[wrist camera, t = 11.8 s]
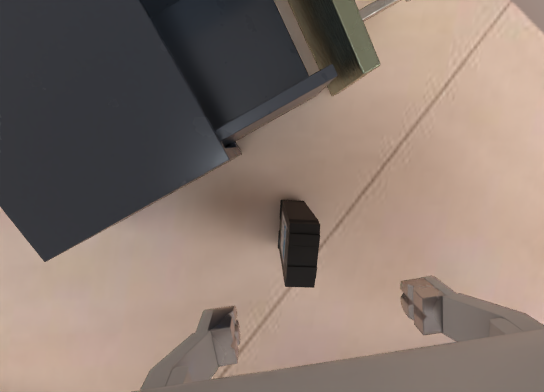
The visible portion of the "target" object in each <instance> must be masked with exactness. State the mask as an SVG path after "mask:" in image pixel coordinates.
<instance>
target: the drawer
mask: <svg viewBox="0 0 544 392" xmlns="http://www.w3.org/2000/svg"><path fill="white" fill-rule="evenodd" d="M141 1H142V2H143V4H144V6H145V8H146V9H147V11H148V13H149V15H150V16H151V18H152V20H153V22H154V23H155V25H156V27H157V29H158V30H159V32H160V34H161V36H162V38H163V39H164V41H165V43H166V45H167V46H168V48H169V50H170V52H171V53H172V55H173V57H174V59H175V60H176V62H177V64H178V66H179V67H180V69H181V71H182V73H183V74H184V76H185V78H186V80H187V81H188V83H189V85H190V87H191V89H192V90H193V92H194V94H195V96H196V97H197V99H198V101H199V103H200V104H201V106H202V108H203V110H204V111H205V113H206V115H207V117H208V118H209V120H210V122H211V124H212V125H213V127H214V129H215V131H216V132H217V134H218V136H219V138H220V140H221V141H222V143H223V145H224V147H225V146H227V145H229V144H231V143H233V142H234V141H236V140H238V139H240V138H242V137H243V136H245V135H247V134H249V133H251V132H252V131H254V130H256V129H258V128H260V127H261V126H263V125H265V124H267V123H269V122H270V121H272V120H274V119H276V118H278V117H279V116H281V115H283V114H285V113H287V112H288V111H290V110H292V109H294V108H295V107H297V106H299V105H301V104H303V103H304V102H306V101H308V100H310V99H312V98H313V97H315V96H316V95H317V94H318V93H320V92H321V91H322V90H323V89H324V88H325V87H326V86H327V87H328V89H329V91H330V93H331V96H334V95H336V94H338V93H340V92H341V91H343V90H345V89H346V88H348V87H349V86H351V85H352V84H354V83H355V82H357V81H358V80H359V79H361V78H362V77H364V76H365V75H367V74H368V73H370V72H371V71H373V70H374V69H376V68H377V67H379V66H380V62H379V59H378V57H377V54H376V52H375V49H374V47H373V44H372V42H371V40H370V37H369V35H368V32H367V30H366V27H365V25H364V21H366V20H368V19H369V18H371V17H373V16H375V15H376V14H378V13H380V12H382V11H383V10H385V9H387V8H389V7H390V6H392V5H394V4H396V3H397V2H399V1H401V0H376V1H375V2H373V3H371V4H369V5H368V6H366V7H364V8H363V9H361V10H358V8H357V5H356V3H355V0H288V2H289V4H290V6H291V8H292V11H293V13H294V15H295V17H296V19H297V22H298V24H299V26H300V28H301V30H302V32H303V35H304V37H305V39H306V41H307V43H308V46H309V48H310V50H311V52H312V54H313V56H314V59H315V61H316V63H317V65H318V67H319V69H320V71H318V72H316V73H314V74H313V75H311V76H309V75H308V73H307V71H306V69H305V67H304V65H303V62H302V60H301V58H300V56H299V54H298V52H297V50H296V48H295V45H294V43H293V41H292V39H291V37H290V35H289V33H288V31H287V28H286V26H285V24H284V22H283V20H282V18H281V16H280V13H279V11H278V9H277V7H276V5H275V3H274V1H273V0H141ZM408 1H410V0H406V2H408Z"/></svg>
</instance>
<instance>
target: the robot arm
mask: <svg viewBox="0 0 544 392" xmlns="http://www.w3.org/2000/svg"><path fill="white" fill-rule="evenodd" d="M400 289H401V290H402V291H403V292H404V293H403V294H402V296H401V305H402V308H403V310H404V312H405V314H406V315H407V316H408V318H410V319H412V320H414V325H415V326H416V327H417V328H418V329H419V331H420V332H421V333H422V334H423V335H428V334H436V333H443V334H444V335H446V336H448V337H449V338H451V339H453V340H455V341H457V342H454V343H447V344H441V345H434V346H428V347H421V348H415V349H408V350H401V351H395V352H388V353H382V354H375V355H369V356H362V357H356V358H349V359H343V360H336V361H329V362H323V363H316V364H310V365H303V366H297V367H290V368H284V369H277V370H270V371H264V372H257V373H251V374H244V375H238V376H231V377H225V378H218V379H211V378H212V376H213V375H214V374H215V372H216V371H217V369H218V367H220V366H226V365H231V364H237V363H238V354H239V349H238V345H239V344H240V326H239V322H238V321H237V320H236V318H237V311H236V307H235V306H229V307H221V308H215V309H214V308H213V309H207V310H204V311H203V313H202V316H201V319H200V321H199V324H198V327H197V330H196V333H193V334H191V335H190V336H189V337H188V338H187V339H186V340H184V341H183V342H182V343H181V344H180V345H179V346H177V347H176V348H175V349H174V350H173V351H172V352H170V353H169V354H168V355H167V356H166V357H165V358H163V359H162V360H161V361H160V362H159V363H158V364H157V365H155V366H154V367H153V368H152V369H151V370H150V371H149V373H148V375H147V377H146V379H145V381H144V383H143V385H142V387H141V389H140V390H139V391H133V392H544V325H543V324H541V323H539V322H538V321H536V320H535V319H533V318H532V317H530V316H529V315H527V314H525V313H522V312H519V311H516V310H513V309H510V308H506V307H503V306H500V305H497V304H493V303H490V302H487V301H484V300H481V299H477V298H474V297H471V296H468V295H464V294H461V293H458V294H457V293H456V292H454V291H453V290H452V289H450V288H449V287H448V286H446V285H445V284H444V283H442V282H441V281H440V280H438V279H437V278H436V277H434V276H427V277H421V278H417V279H411V280H405V281H401V283H400ZM210 379H211V380H210Z"/></svg>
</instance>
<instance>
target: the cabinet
mask: <svg viewBox="0 0 544 392" xmlns="http://www.w3.org/2000/svg"><path fill="white" fill-rule="evenodd" d="M240 155H242V153H241V151H240V149H239V147H238V145H237V144H236V142H235V141H234V142H233V143H231V144H229V145H227V146H225V147H224V145H223V143H222V141H221V140H220V138H219V136H218V134H217V132H216V131H215V129H214V127H213V125H212V124H211V122H210V120H209V118H208V117H207V115H206V113H205V111H204V110H203V108H202V106H201V104H200V103H199V101H198V99H197V97H196V96H195V94H194V92H193V90H192V89H191V87H190V85H189V83H188V81H187V80H186V78H185V76H184V74H183V73H182V71H181V69H180V67H179V66H178V64H177V62H176V60H175V59H174V57H173V55H172V53H171V52H170V50H169V48H168V46H167V45H166V43H165V41H164V39H163V38H162V36H161V34H160V32H159V30H158V29H157V27H156V25H155V23H154V22H153V20H152V18H151V16H150V15H149V13H148V11H147V9H146V8H145V6H144V4H143V2H142V1H141V0H0V207H1V208H2V209H3V211H4V212H5V213H6V214H7V216H8V217H9V218H10V219H11V221H12V222H13V223H14V224H15V226H16V227H17V228H18V229H19V231H20V232H21V233H22V234H23V236H24V237H25V238H26V239H27V241H28V242H29V243H30V244H31V246H32V247H33V248H34V249H35V251H36V252H37V253H38V254H39V256H40V257H41V258H42V259H43V261H44V262H46V261H48V260H50V259H52V258H54V257H55V256H57V255H59V254H61V253H63V252H65V251H67V250H68V249H70V248H72V247H74V246H76V245H78V244H80V243H81V242H83V241H85V240H87V239H89V238H91V237H93V236H94V235H96V234H98V233H100V232H102V231H104V230H106V229H107V228H109V227H111V226H113V225H115V224H117V223H119V222H120V221H122V220H124V219H126V218H128V217H130V216H131V215H133V214H135V213H137V212H139V211H140V210H142V209H144V208H146V207H148V206H149V205H151V204H153V203H155V202H157V201H159V200H160V199H162V198H164V197H166V196H168V195H169V194H171V193H173V192H175V191H177V190H178V189H180V188H182V187H184V186H186V185H187V184H189V183H191V182H193V181H195V180H197V179H198V178H200V177H202V176H204V175H206V174H207V173H209V172H211V171H213V170H215V169H216V168H218V167H220V166H222V165H224V164H226V163H227V162H229V161H231V160H233V159H235V158H236V157H238V156H240Z"/></svg>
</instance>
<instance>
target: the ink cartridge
mask: <svg viewBox="0 0 544 392" xmlns="http://www.w3.org/2000/svg"><path fill="white" fill-rule="evenodd" d="M319 241H320V224H319V221H318V219H317V218H316V217H315V215H314V214H313V213H312V211H311V210H310V209H309V207H308V206H307V205H306V203H305V202H304V201H297V200H281V205H280V230H279V237H278V249H279V251H280V257H281V263H282V270H283V276H284V283H285V287H313V288H314V285H315V279H316V272H317V259H318V249H319Z"/></svg>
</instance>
